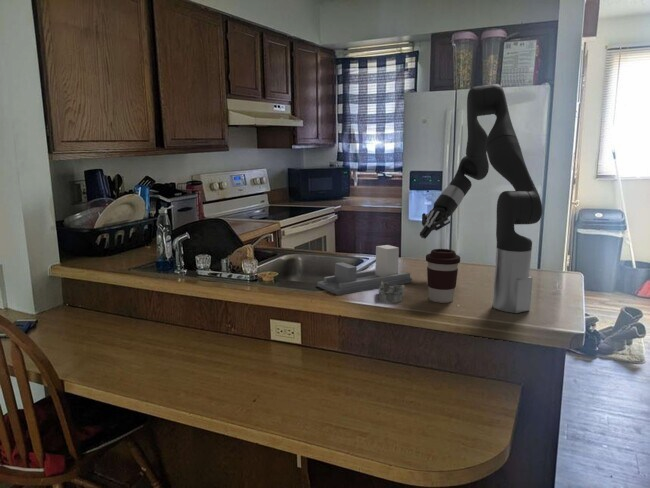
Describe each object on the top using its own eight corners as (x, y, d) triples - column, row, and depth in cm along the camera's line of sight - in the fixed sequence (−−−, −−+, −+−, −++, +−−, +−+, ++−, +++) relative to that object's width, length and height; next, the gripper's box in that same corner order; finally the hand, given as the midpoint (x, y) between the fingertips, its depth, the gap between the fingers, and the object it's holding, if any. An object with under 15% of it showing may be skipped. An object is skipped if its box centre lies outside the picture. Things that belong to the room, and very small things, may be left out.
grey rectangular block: (359, 284, 163) (359, 266, 162) (348, 286, 161) (348, 268, 160) (345, 279, 170) (345, 261, 169) (334, 281, 168) (334, 263, 167)
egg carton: (381, 292, 161) (381, 279, 161) (405, 294, 160) (405, 281, 159) (376, 301, 151) (376, 288, 150) (401, 303, 149) (402, 290, 149)
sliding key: (397, 276, 173) (398, 247, 171) (386, 278, 170) (387, 249, 168) (386, 273, 178) (387, 244, 176) (375, 274, 175) (376, 246, 173)
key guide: (411, 282, 172) (411, 273, 172) (337, 295, 157) (337, 285, 156) (389, 274, 182) (389, 266, 182) (317, 286, 167) (317, 277, 166)
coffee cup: (421, 294, 158) (423, 247, 155) (453, 295, 157) (456, 247, 155) (427, 304, 148) (429, 253, 145) (461, 305, 148) (464, 254, 145)
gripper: (431, 192, 187) (404, 227, 183) (457, 195, 176) (429, 232, 172) (441, 205, 191) (414, 240, 187) (467, 209, 180) (440, 246, 176)
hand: (422, 236), depth 180 cm, fingers closed
